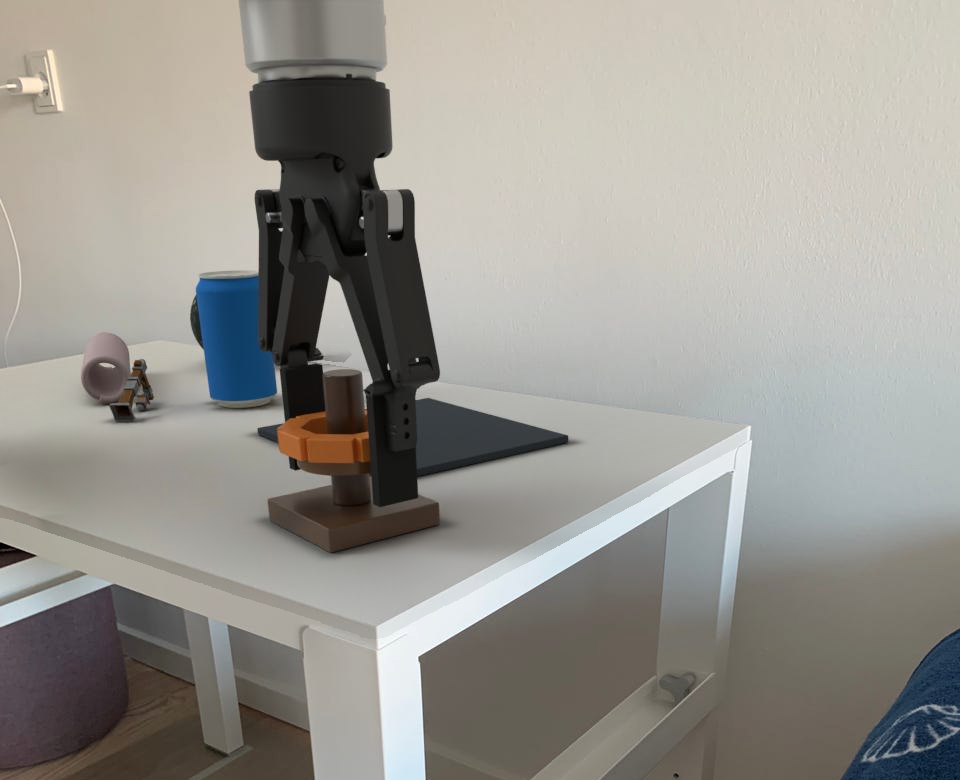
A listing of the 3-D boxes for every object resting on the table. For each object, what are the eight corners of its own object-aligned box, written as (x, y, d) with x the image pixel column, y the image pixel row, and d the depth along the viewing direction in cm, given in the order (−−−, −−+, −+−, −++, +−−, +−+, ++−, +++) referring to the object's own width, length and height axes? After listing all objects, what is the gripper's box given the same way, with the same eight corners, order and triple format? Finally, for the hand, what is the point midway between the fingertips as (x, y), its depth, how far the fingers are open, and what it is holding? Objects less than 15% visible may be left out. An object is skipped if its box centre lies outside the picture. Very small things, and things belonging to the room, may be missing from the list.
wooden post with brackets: (162, 391, 99) (149, 352, 96) (142, 442, 94) (127, 403, 91) (144, 392, 100) (130, 352, 96) (123, 443, 94) (108, 403, 91)
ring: (260, 444, 63) (257, 422, 62) (368, 424, 67) (367, 403, 67) (323, 471, 57) (321, 447, 57) (437, 447, 62) (436, 424, 61)
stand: (269, 520, 65) (251, 372, 61) (373, 496, 69) (363, 356, 65) (330, 553, 59) (316, 391, 55) (440, 524, 64) (434, 372, 60)
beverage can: (288, 403, 98) (275, 273, 93) (225, 412, 95) (208, 278, 89) (262, 392, 103) (248, 268, 97) (201, 401, 99) (183, 273, 94)
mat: (257, 434, 86) (256, 427, 86) (428, 403, 96) (428, 397, 96) (382, 484, 72) (381, 476, 72) (568, 442, 82) (568, 435, 82)
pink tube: (79, 335, 112) (74, 361, 96) (122, 327, 113) (123, 352, 97) (92, 377, 114) (88, 408, 98) (134, 369, 115) (137, 399, 100)
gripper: (503, 62, 48) (508, 511, 57) (284, 93, 64) (316, 440, 73) (369, 56, 44) (398, 541, 53) (171, 91, 60) (220, 458, 69)
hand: (350, 482), depth 63 cm, fingers open, 10 cm apart
